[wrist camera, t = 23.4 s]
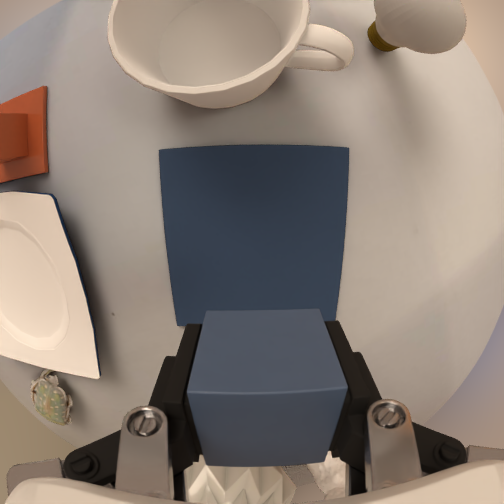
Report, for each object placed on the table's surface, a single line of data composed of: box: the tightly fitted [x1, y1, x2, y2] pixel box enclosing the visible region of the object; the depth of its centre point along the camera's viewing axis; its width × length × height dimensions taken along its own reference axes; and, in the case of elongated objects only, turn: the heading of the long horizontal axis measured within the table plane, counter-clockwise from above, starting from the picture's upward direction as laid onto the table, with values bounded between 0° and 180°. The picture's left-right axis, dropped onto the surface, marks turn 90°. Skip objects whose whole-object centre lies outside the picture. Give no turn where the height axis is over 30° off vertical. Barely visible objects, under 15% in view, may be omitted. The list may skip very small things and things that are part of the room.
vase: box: [186, 455, 296, 504], centre depth 24 cm, size 16×16×18 cm
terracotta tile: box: [0, 86, 48, 183], centre depth 19 cm, size 8×8×1 cm
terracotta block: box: [0, 113, 28, 164], centre depth 17 cm, size 4×4×4 cm
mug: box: [108, 0, 354, 109], centre depth 14 cm, size 13×10×8 cm
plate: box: [0, 191, 101, 379], centre depth 23 cm, size 20×20×3 cm
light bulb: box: [368, 0, 466, 54], centre depth 13 cm, size 6×6×10 cm
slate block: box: [187, 308, 348, 467], centre depth 9 cm, size 4×4×4 cm
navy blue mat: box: [159, 145, 349, 326], centre depth 23 cm, size 15×14×1 cm
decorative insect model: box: [30, 369, 73, 426], centre depth 29 cm, size 9×11×5 cm
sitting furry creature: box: [306, 451, 346, 500], centre depth 28 cm, size 10×9×12 cm
